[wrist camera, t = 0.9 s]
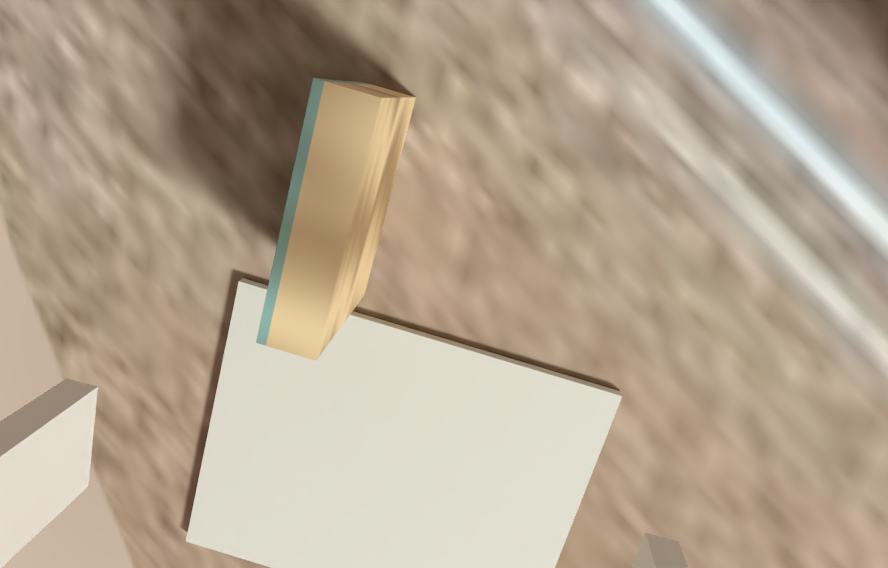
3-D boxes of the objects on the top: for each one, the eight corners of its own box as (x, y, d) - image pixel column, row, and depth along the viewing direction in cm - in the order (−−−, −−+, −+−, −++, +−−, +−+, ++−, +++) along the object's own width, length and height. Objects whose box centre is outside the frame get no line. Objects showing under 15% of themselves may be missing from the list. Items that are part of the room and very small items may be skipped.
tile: (366, 82, 32) (313, 77, 23) (416, 97, 32) (381, 97, 23) (319, 281, 35) (255, 342, 26) (364, 294, 35) (316, 361, 26)
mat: (243, 278, 35) (238, 281, 34) (620, 391, 35) (622, 396, 34) (190, 534, 39) (185, 541, 39) (524, 636, 39) (524, 644, 38)
